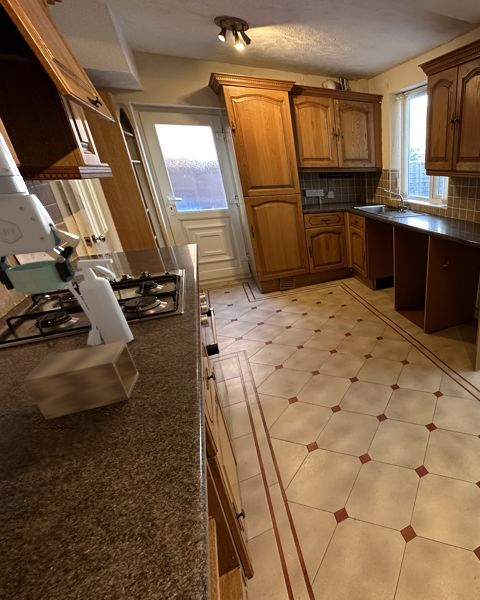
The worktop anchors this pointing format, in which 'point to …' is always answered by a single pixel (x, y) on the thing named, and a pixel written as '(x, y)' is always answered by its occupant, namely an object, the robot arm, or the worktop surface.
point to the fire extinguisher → (100, 303)
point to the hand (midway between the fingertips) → (42, 283)
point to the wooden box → (82, 379)
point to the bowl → (35, 277)
